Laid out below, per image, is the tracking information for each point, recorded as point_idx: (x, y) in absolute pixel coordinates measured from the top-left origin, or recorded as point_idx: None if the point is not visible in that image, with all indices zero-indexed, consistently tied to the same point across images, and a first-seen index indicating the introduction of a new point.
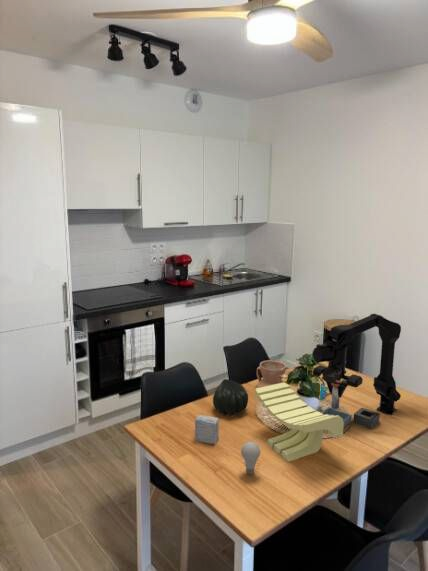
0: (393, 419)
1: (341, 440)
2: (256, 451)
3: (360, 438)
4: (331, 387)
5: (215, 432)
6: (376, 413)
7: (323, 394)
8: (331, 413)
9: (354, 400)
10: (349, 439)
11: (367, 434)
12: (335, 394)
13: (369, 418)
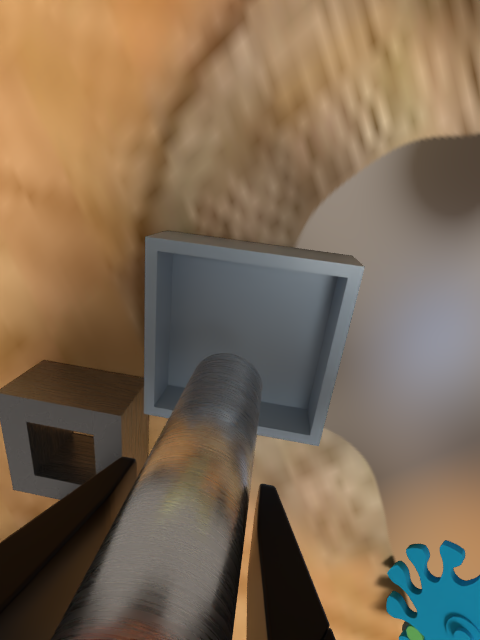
0: (25, 500)
1: (106, 108)
2: None
3: (35, 224)
4: (258, 627)
5: None
6: (25, 481)
7: (406, 588)
8: (289, 409)
9: (238, 591)
10: (74, 163)
11: (32, 297)
12: (164, 474)
13: (19, 405)
